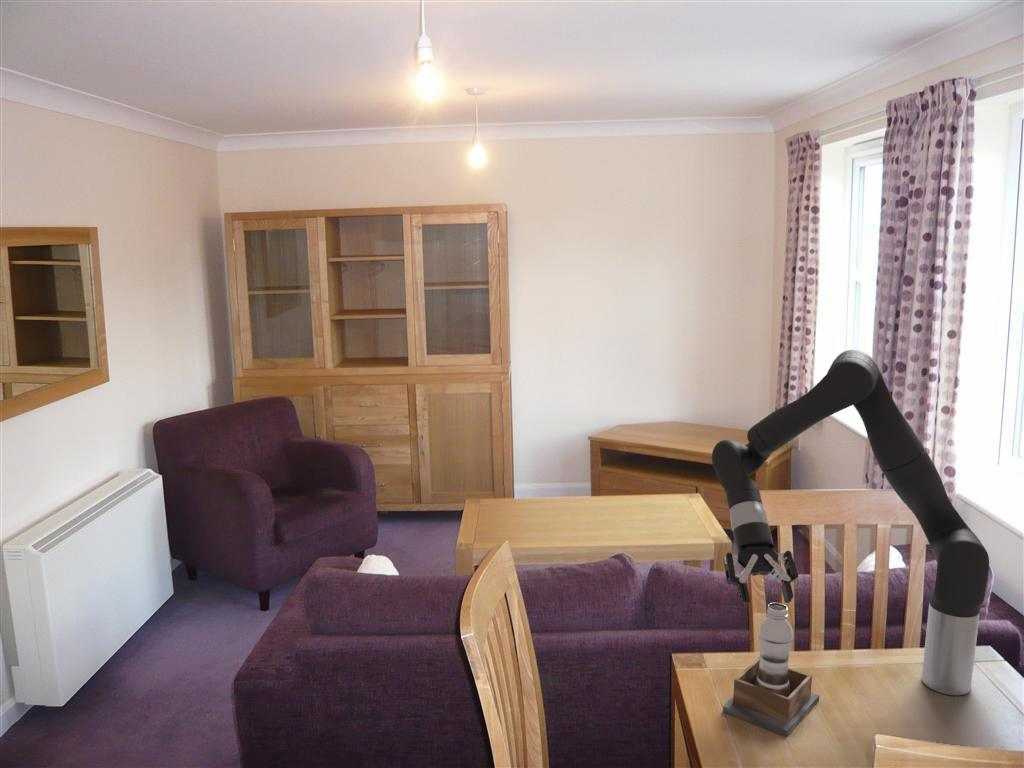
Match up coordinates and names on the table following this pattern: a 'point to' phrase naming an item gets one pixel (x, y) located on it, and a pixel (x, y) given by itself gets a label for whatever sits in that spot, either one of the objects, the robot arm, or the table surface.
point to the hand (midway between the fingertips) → (767, 602)
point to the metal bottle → (775, 650)
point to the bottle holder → (771, 701)
